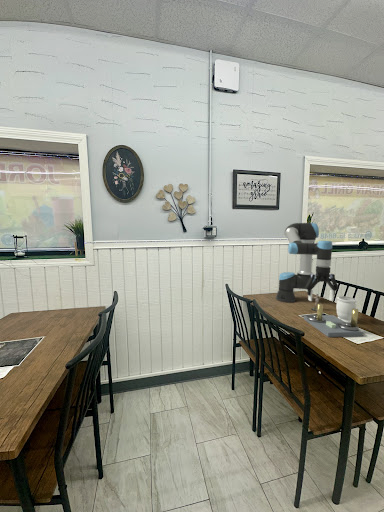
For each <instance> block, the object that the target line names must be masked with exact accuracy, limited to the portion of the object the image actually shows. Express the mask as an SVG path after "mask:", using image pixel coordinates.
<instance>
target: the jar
mask: <svg viewBox="0 0 384 512" xmlns="http://www.w3.org/2000/svg"><path fill="white" fill-rule="evenodd" d="M336 299H337V301H336V307H335V308H336V315H337V316H336V317H337V318H339V319H341V320H343V321H344V322H347V323H351V315H352V308H355V309H357V304H356V303H357V299H356V298H353V297H350V296H343V295H339V296H337V298H336Z"/></svg>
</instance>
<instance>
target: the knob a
mask: <svg viewBox="0 0 384 512" xmlns="http://www.w3.org/2000/svg"><path fill="white" fill-rule="evenodd" d="M316 308H317V311H316V314H308V315H306V316H307V319H309V320H311V321H314V322H324V321H325V319H324V318H323V317H322V315H323V311H324V310H323V309H324V304H322V303H318V304H317V303H316Z"/></svg>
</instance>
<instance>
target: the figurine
mask: <svg viewBox="0 0 384 512" xmlns="http://www.w3.org/2000/svg"><path fill="white" fill-rule="evenodd" d="M312 299H314V301H315V304H314V307H312V308H311V310H312V311H313V312H317V304H319V301H320V299H324V297H322V296H321V297H320V296H319V293H316V296H312Z"/></svg>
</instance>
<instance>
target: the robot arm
mask: <svg viewBox="0 0 384 512" xmlns="http://www.w3.org/2000/svg"><path fill="white" fill-rule="evenodd" d="M319 232H320V229H319V226H318V224H317V222H294V223H291V224H289V225H288V226H287V227H286V228H285V230H284V235H285V238H286V239H288V242H289V243H288V246H287V248H288V249H287V251H288V253H289V255H300V256H299V257H300V258H299V270H298V271H297V273H296V274H295V272H293V271H292V272H290V271H288V272H287V271H286V272H281V273H280V274H279V276H278V277H279V278H278V290H277V293H276V295H275V299H276V300H277V301H279V302H283V303H294V302H296V296H295V292H294V291H295V289H299V290H306V291H307V293H306V294H307V299H308V301H310V302H313V298H312V297H313V293H314V292H313V289H314V288H315V287H316V286H317V285H318V283H320V282H321V283H323V282H325V283H326V284H327V285H328V286H329V288H330V290H329V301H332V302H334V300H335V295H336V291H338V290H339V289H340V287H339V285H338V282H337V280H336V277H335V275H336V274H334V273H331V266H332V253H333V252H332V251H333V241H331V240H318V241H317V242H316V243H315V241H316V239H317V238H319V235H320V233H319ZM313 256H316V262H315V263H316V264H315V274H314V273H313V272H312V266H313V265H312V264H313Z"/></svg>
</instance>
